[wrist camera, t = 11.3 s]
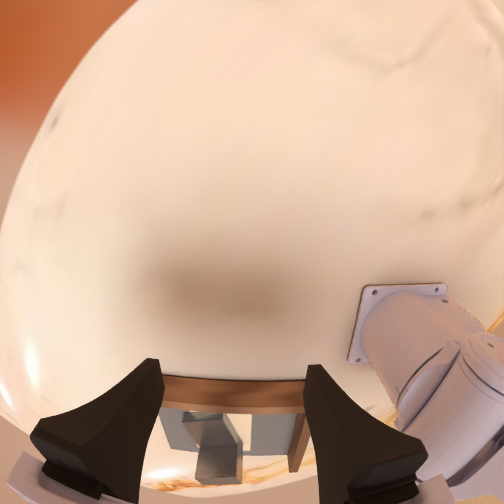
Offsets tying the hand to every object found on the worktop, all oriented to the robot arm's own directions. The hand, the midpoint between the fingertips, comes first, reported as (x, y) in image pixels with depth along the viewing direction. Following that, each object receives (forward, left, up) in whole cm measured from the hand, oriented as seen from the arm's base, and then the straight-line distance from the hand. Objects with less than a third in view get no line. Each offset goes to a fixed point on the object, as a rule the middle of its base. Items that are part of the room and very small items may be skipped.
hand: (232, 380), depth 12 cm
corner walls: (+1, +16, -9) cm, 19 cm away
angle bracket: (+3, +17, -9) cm, 19 cm away
